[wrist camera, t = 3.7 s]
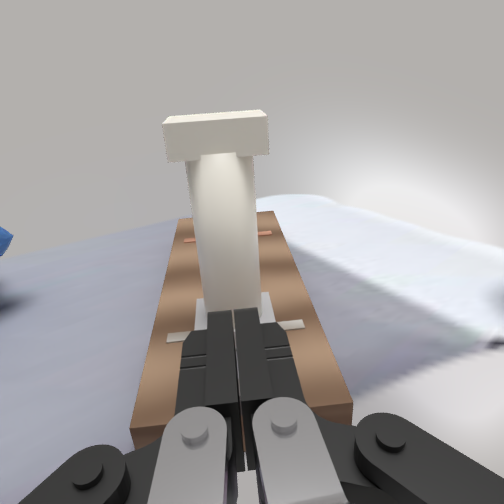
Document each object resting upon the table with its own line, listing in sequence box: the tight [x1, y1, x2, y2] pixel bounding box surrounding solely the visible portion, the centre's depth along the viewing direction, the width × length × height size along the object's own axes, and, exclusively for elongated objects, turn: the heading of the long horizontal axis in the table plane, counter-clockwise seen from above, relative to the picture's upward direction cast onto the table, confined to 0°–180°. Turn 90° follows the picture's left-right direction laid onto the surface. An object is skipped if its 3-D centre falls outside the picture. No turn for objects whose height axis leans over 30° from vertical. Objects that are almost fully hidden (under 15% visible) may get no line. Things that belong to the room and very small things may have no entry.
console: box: [129, 211, 353, 452], centre depth 29 cm, size 26×10×4 cm, turn 5°
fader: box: [162, 110, 276, 350], centre depth 20 cm, size 4×4×12 cm
